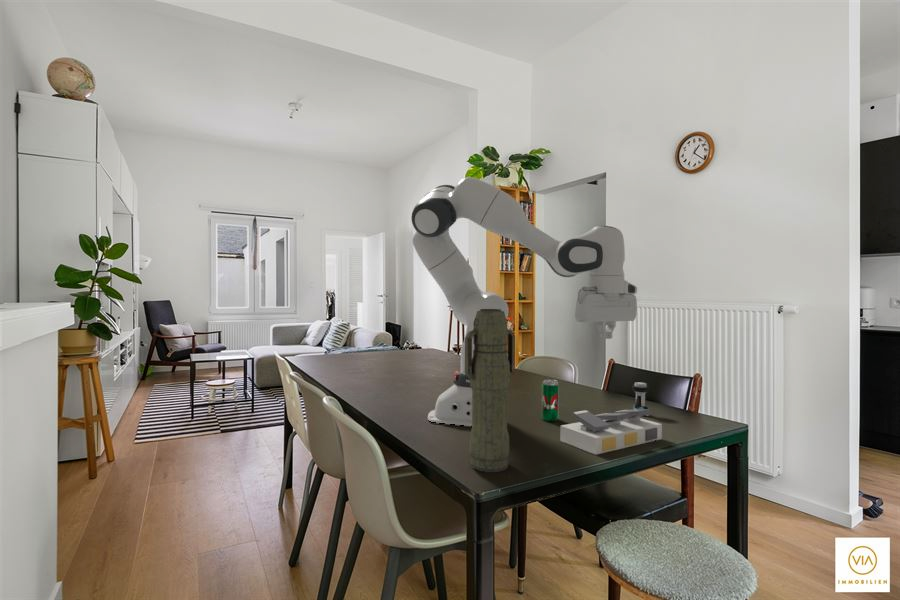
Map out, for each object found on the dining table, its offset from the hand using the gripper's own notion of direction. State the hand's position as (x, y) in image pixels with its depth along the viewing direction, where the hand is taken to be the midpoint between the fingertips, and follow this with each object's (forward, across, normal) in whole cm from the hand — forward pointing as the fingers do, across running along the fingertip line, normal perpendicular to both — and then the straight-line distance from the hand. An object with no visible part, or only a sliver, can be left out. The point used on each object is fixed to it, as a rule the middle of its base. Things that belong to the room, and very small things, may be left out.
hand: (606, 338), depth 125 cm
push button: (+27, +29, +11) cm, 41 cm away
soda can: (+27, -1, +20) cm, 34 cm away
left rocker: (+20, -8, -2) cm, 22 cm away
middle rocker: (+20, 0, -2) cm, 21 cm away
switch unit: (+27, 0, -2) cm, 27 cm away
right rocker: (+20, +8, -2) cm, 22 cm away
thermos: (+27, -39, -1) cm, 47 cm away
